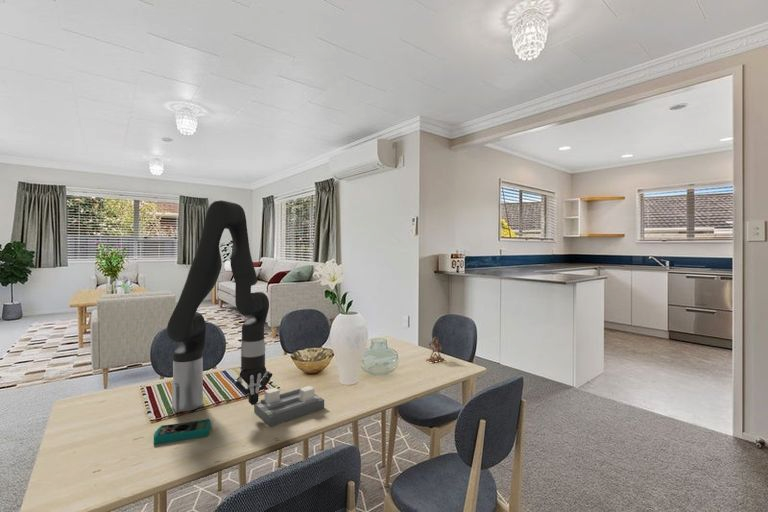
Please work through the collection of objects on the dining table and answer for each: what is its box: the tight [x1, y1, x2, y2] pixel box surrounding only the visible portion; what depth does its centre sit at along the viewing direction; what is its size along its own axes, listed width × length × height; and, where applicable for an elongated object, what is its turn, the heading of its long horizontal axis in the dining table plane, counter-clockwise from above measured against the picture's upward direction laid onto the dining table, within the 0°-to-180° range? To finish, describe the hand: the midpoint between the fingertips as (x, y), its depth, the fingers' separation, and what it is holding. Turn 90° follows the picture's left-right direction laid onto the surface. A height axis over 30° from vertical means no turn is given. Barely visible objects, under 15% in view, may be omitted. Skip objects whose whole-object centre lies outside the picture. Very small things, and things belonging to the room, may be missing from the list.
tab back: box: [264, 387, 281, 404], centre depth 124 cm, size 4×3×4 cm
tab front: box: [300, 385, 315, 402], centre depth 125 cm, size 4×3×4 cm
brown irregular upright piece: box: [425, 336, 445, 363], centre depth 179 cm, size 9×4×12 cm, turn 122°
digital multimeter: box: [153, 418, 212, 445], centre depth 108 cm, size 7×15×3 cm, turn 110°
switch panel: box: [253, 387, 325, 427], centre depth 125 cm, size 20×13×4 cm, turn 131°
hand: (253, 403), depth 119 cm, fingers closed
